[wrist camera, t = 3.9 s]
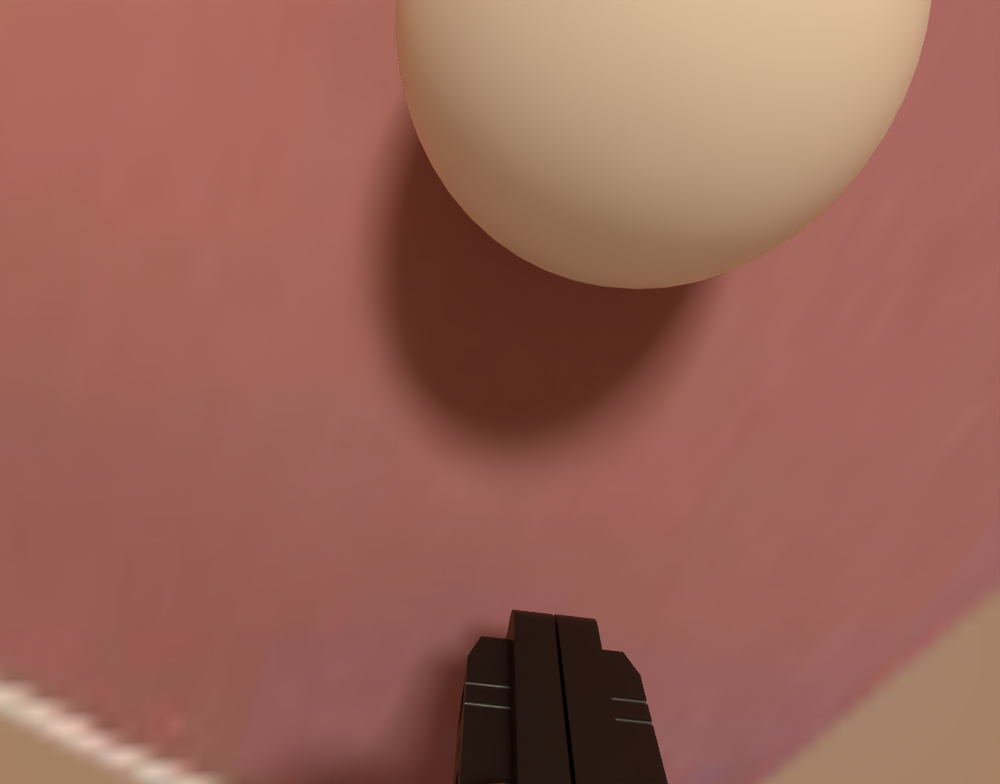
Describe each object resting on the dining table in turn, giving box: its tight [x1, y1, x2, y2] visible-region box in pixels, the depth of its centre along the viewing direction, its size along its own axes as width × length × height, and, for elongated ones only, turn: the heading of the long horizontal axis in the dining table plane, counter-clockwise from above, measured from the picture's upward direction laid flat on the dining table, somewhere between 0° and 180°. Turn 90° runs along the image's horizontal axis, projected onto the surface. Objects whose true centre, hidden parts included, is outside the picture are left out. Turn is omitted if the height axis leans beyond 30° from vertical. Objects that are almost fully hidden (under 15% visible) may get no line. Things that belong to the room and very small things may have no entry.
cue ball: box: [396, 0, 931, 289], centre depth 8 cm, size 6×6×6 cm
